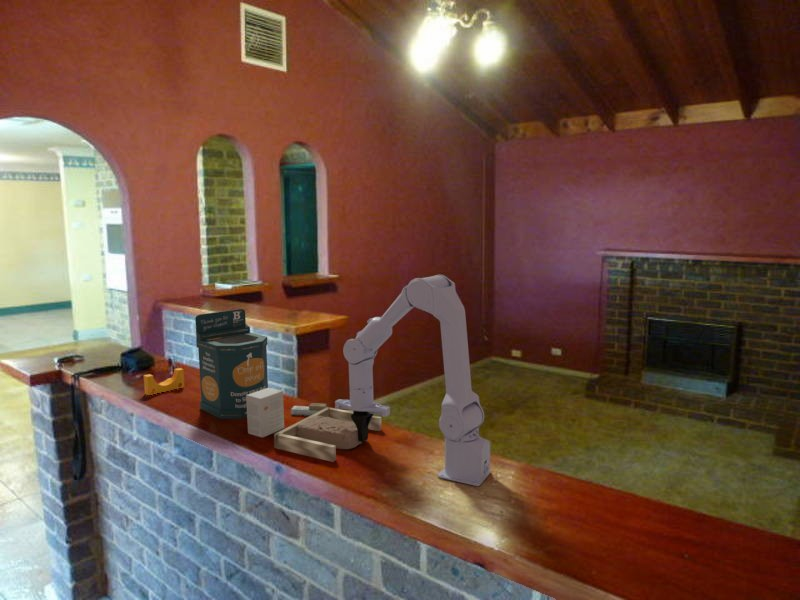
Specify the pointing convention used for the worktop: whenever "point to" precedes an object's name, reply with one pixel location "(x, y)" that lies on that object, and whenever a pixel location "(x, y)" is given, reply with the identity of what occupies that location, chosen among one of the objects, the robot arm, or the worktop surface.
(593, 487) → the worktop surface
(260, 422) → the small box
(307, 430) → the brick
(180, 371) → the pipe clamp
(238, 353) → the donation box
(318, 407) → the scraper bar
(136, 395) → the worktop surface
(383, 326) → the robot arm
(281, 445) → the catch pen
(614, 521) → the worktop surface
